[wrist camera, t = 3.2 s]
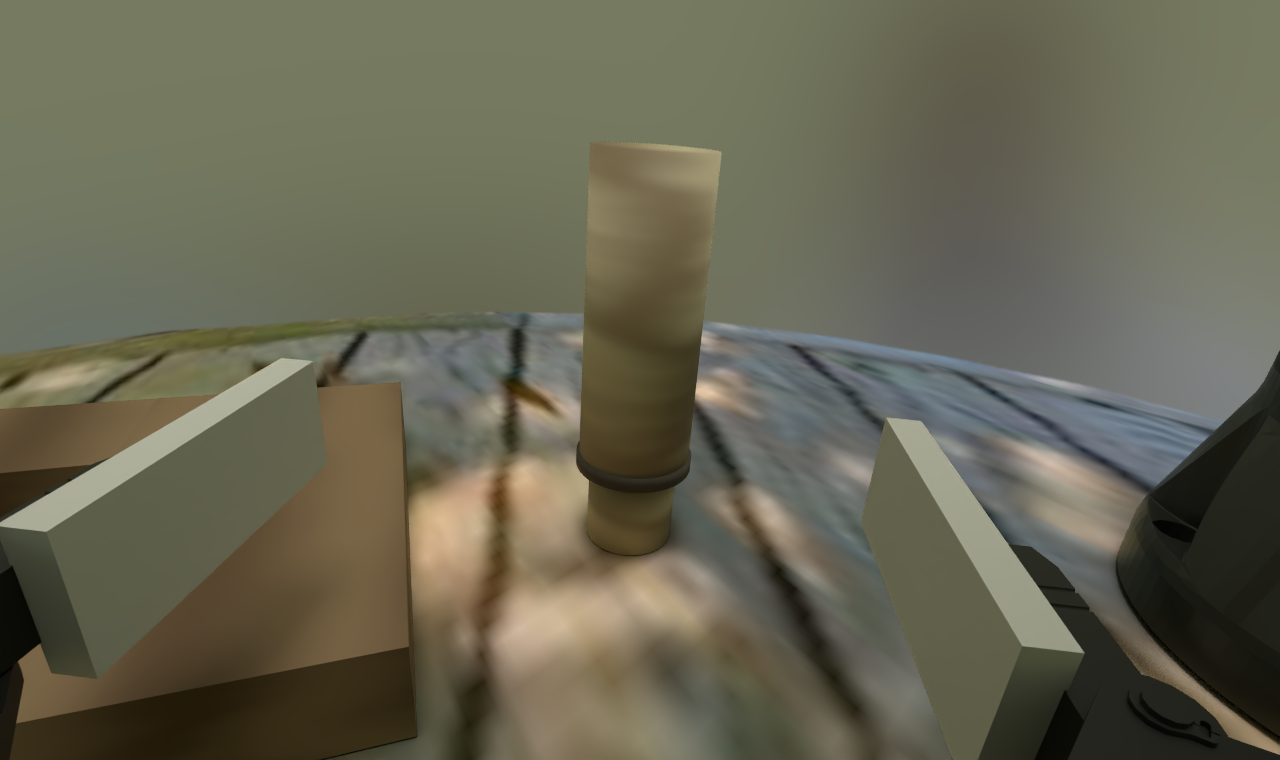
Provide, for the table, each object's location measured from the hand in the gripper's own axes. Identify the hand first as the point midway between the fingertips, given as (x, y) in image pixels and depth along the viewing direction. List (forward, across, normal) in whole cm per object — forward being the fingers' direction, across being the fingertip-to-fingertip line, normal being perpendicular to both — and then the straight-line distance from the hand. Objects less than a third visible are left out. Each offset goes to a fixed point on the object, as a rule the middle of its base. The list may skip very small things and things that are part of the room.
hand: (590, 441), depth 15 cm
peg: (+8, 0, -8) cm, 11 cm away
